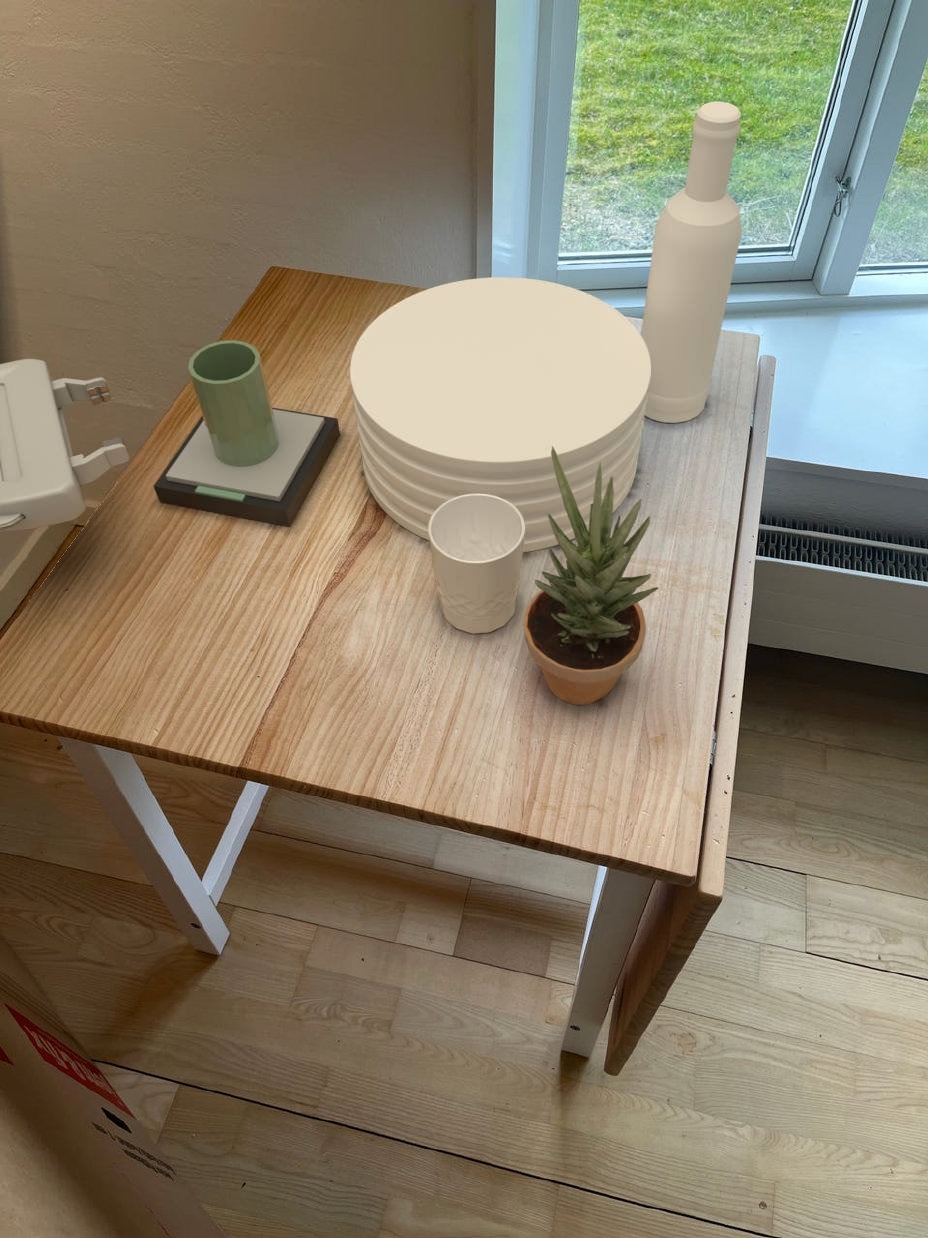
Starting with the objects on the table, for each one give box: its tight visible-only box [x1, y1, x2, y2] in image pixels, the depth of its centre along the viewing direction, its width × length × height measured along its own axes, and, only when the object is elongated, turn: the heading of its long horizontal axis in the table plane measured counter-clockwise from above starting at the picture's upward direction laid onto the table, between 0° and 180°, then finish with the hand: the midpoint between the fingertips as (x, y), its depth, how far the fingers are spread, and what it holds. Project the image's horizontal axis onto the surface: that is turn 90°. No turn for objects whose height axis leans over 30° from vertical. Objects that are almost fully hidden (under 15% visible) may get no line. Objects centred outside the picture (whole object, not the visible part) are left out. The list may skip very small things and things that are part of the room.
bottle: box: [640, 101, 743, 424], centre depth 90 cm, size 8×8×30 cm
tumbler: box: [187, 339, 279, 467], centre depth 91 cm, size 6×6×10 cm
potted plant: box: [523, 446, 659, 706], centre depth 70 cm, size 10×10×25 cm
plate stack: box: [349, 276, 651, 553], centre depth 93 cm, size 28×28×12 cm
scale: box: [153, 407, 341, 528], centre depth 96 cm, size 14×14×3 cm
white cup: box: [428, 493, 525, 634], centre depth 81 cm, size 8×8×10 cm
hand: (117, 417), depth 86 cm, fingers open, 8 cm apart
